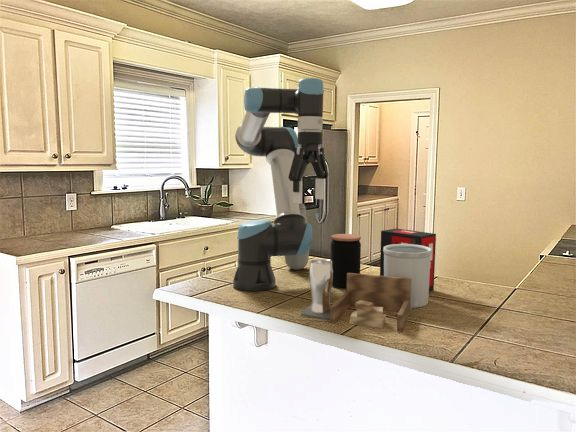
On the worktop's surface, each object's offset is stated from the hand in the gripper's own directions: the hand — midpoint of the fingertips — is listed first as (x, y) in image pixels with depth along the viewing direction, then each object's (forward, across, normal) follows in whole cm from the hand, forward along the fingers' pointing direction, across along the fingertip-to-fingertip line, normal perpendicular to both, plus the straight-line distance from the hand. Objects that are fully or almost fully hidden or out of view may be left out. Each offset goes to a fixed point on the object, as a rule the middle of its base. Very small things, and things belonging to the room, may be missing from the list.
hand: (308, 201), depth 146 cm
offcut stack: (+32, -8, -24) cm, 41 cm away
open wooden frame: (+32, -3, -23) cm, 39 cm away
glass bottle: (+34, +36, +26) cm, 56 cm away
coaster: (+32, -8, -9) cm, 34 cm away
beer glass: (+31, -8, -9) cm, 34 cm away
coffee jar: (+33, +24, -2) cm, 41 cm away
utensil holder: (+32, +17, -26) cm, 45 cm away
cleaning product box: (+33, +33, -21) cm, 51 cm away
